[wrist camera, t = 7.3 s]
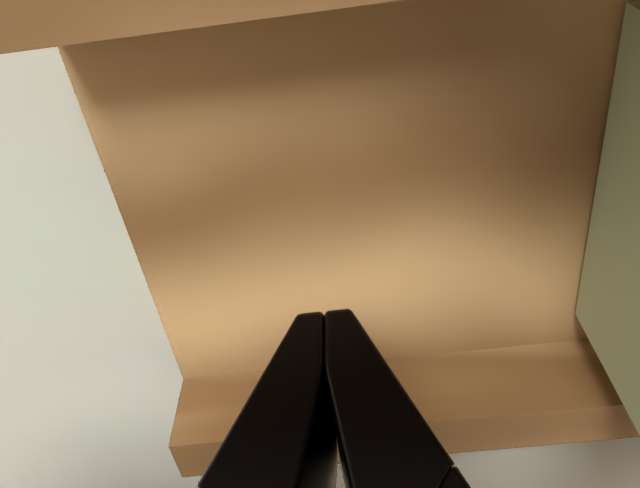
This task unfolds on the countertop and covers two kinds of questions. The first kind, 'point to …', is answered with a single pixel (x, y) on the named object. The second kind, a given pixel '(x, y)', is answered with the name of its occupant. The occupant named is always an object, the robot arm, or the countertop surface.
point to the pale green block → (617, 231)
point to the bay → (358, 192)
